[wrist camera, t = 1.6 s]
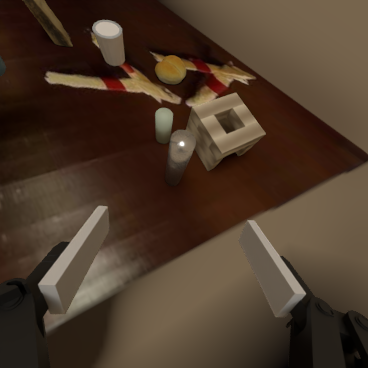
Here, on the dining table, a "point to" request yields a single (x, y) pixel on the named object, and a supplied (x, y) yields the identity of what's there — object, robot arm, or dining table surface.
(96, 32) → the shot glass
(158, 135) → the short pin
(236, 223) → the dining table surface
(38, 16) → the rock
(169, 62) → the bread roll
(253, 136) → the beige hollow block
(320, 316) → the robot arm
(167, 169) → the tall grey cylinder
